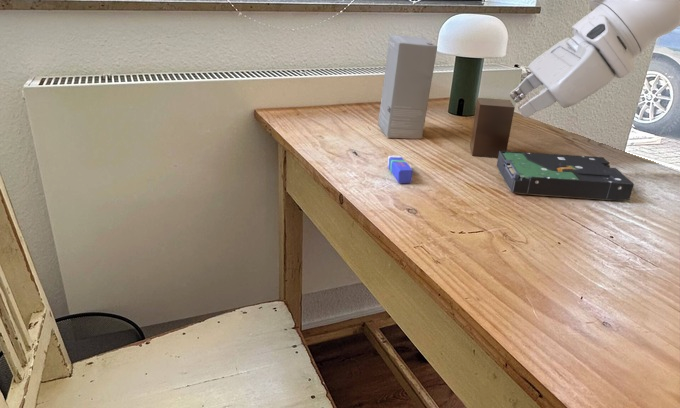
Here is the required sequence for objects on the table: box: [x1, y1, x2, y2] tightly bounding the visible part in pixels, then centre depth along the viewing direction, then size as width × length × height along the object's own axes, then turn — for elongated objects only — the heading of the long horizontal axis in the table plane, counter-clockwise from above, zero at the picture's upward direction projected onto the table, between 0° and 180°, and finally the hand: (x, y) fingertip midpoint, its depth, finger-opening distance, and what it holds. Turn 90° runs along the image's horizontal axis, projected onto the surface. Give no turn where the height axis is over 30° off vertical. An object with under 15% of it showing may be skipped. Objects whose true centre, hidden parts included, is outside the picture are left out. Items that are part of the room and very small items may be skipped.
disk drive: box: [496, 150, 635, 201], centre depth 69 cm, size 10×3×15 cm
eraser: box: [387, 154, 414, 184], centre depth 69 cm, size 2×6×2 cm, turn 9°
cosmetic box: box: [377, 34, 438, 140], centre depth 86 cm, size 8×7×16 cm
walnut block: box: [469, 97, 515, 159], centre depth 79 cm, size 5×5×8 cm
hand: (516, 105), depth 78 cm, fingers open, 8 cm apart
